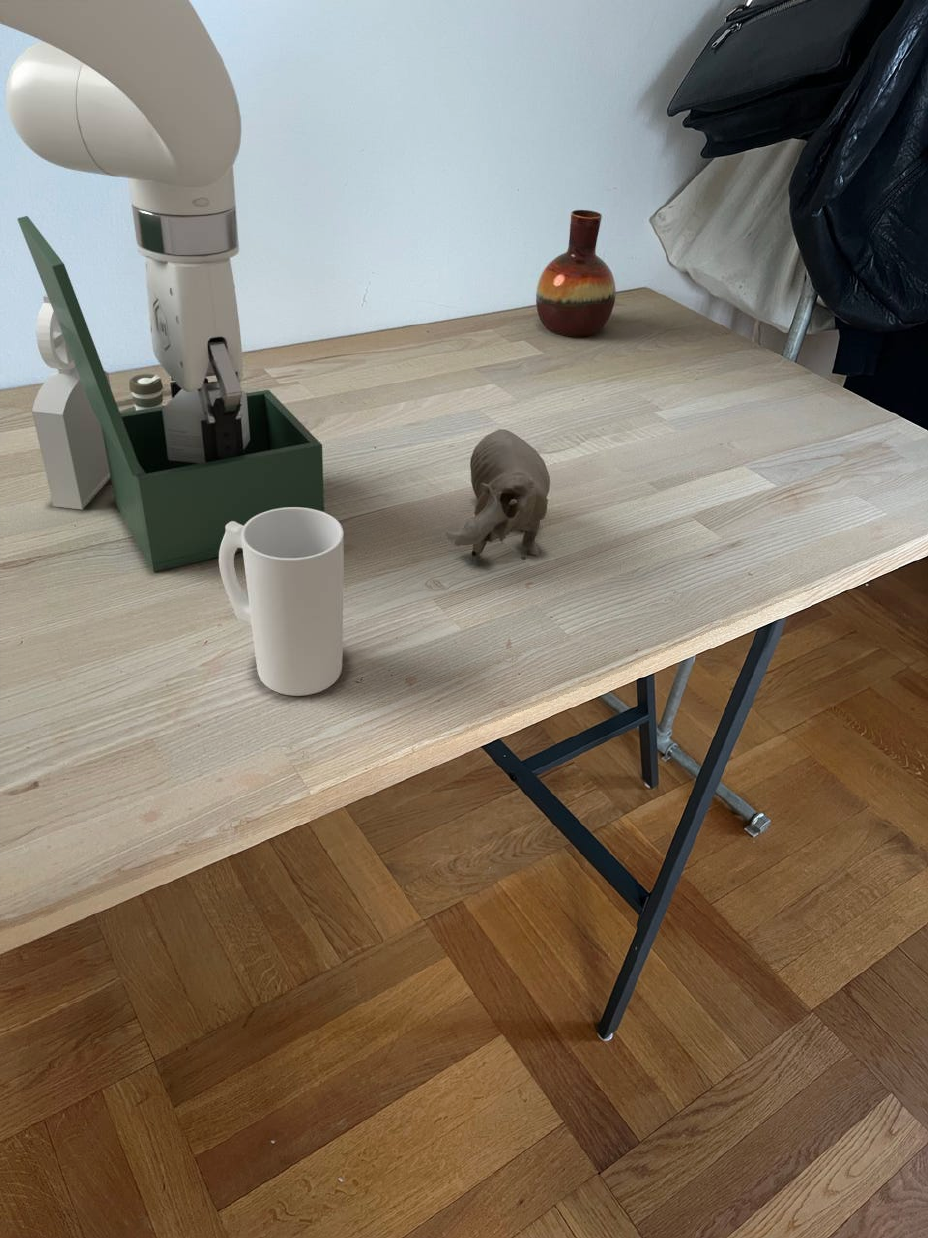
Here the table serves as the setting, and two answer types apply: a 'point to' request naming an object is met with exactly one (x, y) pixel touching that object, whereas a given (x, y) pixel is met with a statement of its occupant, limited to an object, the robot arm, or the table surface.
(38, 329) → the gravestone
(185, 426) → the small box
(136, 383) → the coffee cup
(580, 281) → the vase
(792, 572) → the table surface
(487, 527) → the rhinoceros figurine
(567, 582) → the table surface
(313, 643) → the mug
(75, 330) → the bin lid
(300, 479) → the bin
